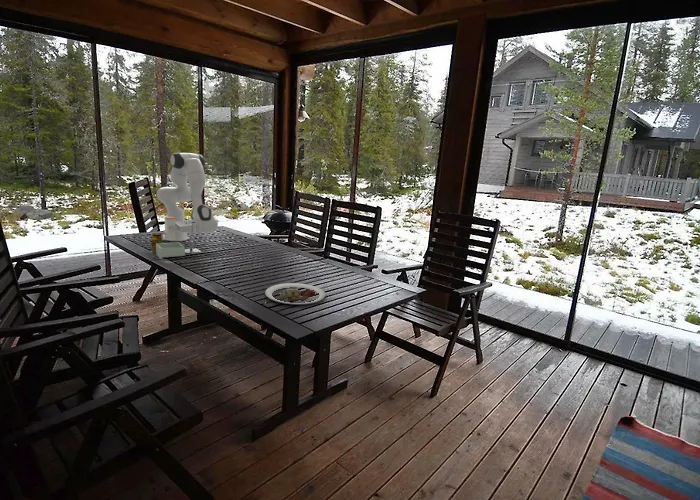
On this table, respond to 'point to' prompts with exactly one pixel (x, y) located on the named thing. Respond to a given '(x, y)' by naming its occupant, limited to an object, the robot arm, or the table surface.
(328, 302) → the table surface
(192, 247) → the stud base
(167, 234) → the white tall cylinder
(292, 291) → the plated food
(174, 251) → the bin
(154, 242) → the condiment
